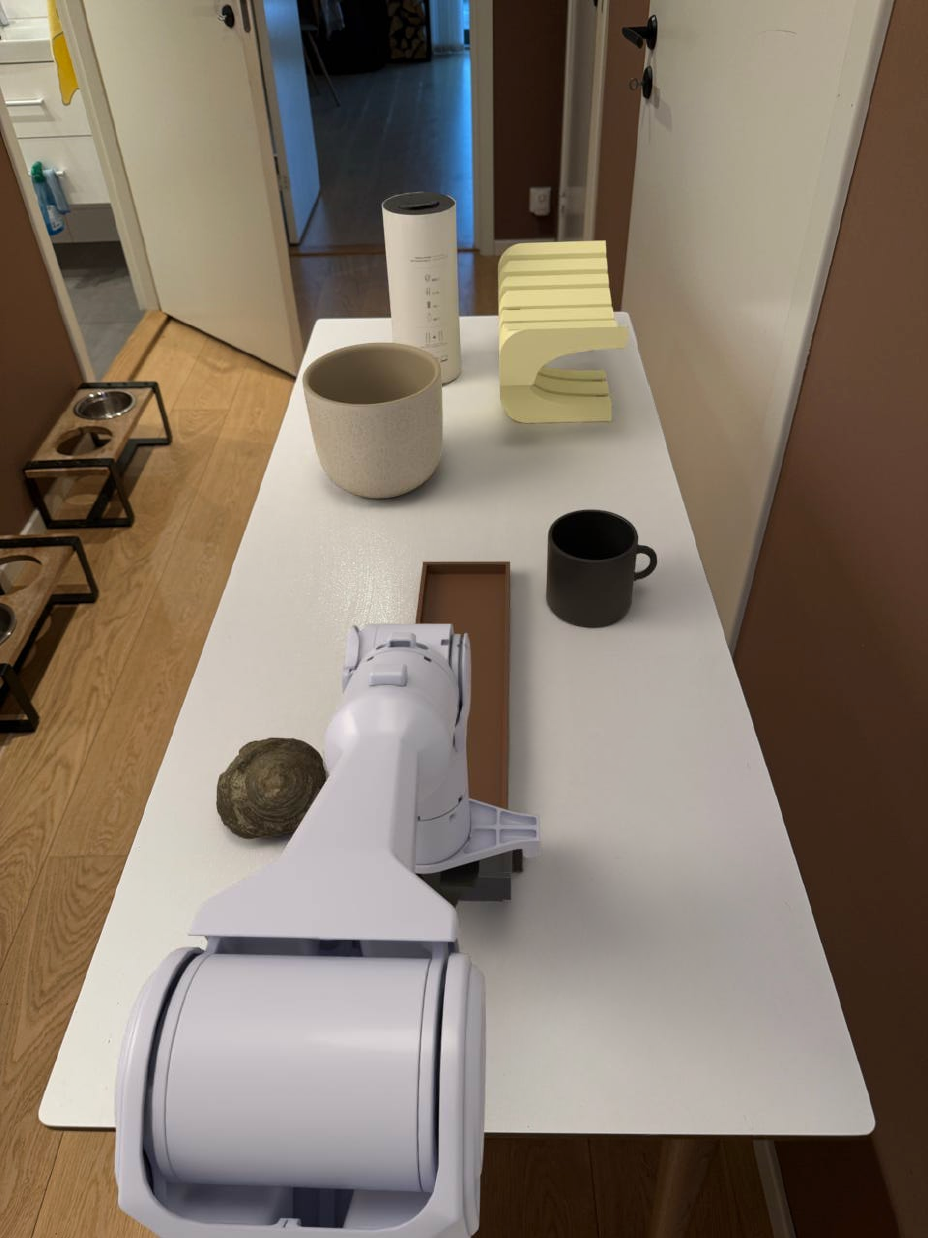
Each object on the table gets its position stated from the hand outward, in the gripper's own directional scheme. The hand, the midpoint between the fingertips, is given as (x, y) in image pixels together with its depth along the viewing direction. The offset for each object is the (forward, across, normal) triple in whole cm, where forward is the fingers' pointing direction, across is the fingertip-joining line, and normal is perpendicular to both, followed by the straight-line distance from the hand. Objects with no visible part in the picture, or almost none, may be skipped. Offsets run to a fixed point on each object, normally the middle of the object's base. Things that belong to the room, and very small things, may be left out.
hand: (434, 904), depth 65 cm
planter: (+10, +12, -69) cm, 70 cm away
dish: (+4, 0, -4) cm, 5 cm away
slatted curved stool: (+10, -11, -90) cm, 91 cm away
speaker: (+10, +8, -99) cm, 99 cm away
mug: (+9, -15, -44) cm, 47 cm away
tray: (+9, 0, -29) cm, 30 cm away
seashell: (+9, +16, -17) cm, 25 cm away
